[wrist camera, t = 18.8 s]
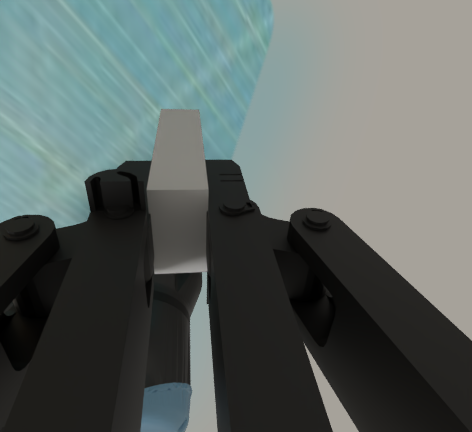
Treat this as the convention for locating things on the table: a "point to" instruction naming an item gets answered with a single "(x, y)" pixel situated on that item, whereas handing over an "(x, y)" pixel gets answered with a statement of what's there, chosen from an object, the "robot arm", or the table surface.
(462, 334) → the robot arm
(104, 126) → the table surface
